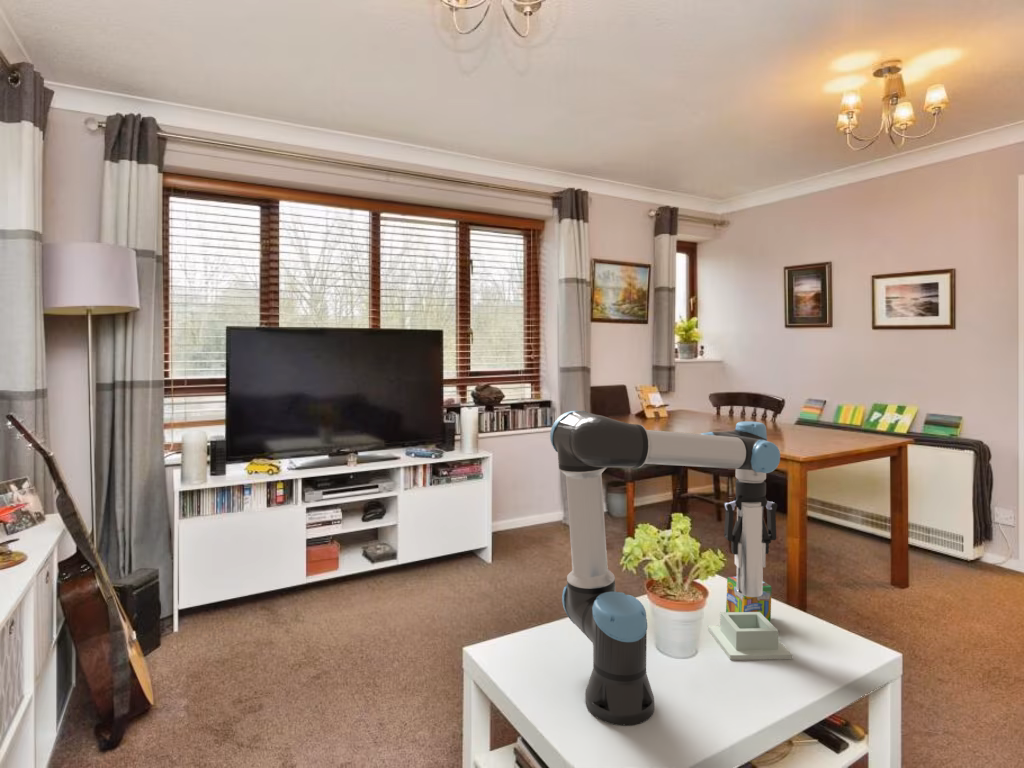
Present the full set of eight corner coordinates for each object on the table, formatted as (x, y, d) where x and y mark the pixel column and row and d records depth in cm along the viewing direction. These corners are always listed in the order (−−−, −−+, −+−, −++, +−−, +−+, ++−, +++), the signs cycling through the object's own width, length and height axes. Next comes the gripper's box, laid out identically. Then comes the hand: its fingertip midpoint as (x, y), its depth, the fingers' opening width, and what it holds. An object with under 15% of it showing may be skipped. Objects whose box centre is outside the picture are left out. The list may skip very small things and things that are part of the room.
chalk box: (725, 614, 173) (725, 565, 173) (752, 611, 175) (753, 563, 174) (743, 628, 164) (744, 577, 164) (772, 625, 166) (772, 575, 165)
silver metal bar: (765, 598, 151) (765, 504, 150) (738, 596, 152) (739, 503, 151) (759, 588, 158) (760, 497, 156) (734, 586, 159) (735, 496, 157)
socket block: (730, 659, 148) (730, 636, 147) (708, 629, 164) (708, 608, 163) (792, 659, 148) (792, 635, 147) (764, 629, 164) (764, 607, 163)
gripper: (720, 483, 149) (720, 571, 151) (792, 482, 150) (791, 570, 151) (710, 477, 157) (710, 561, 158) (778, 476, 157) (777, 560, 158)
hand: (749, 565), depth 155 cm, fingers closed on silver metal bar, 6 cm apart
